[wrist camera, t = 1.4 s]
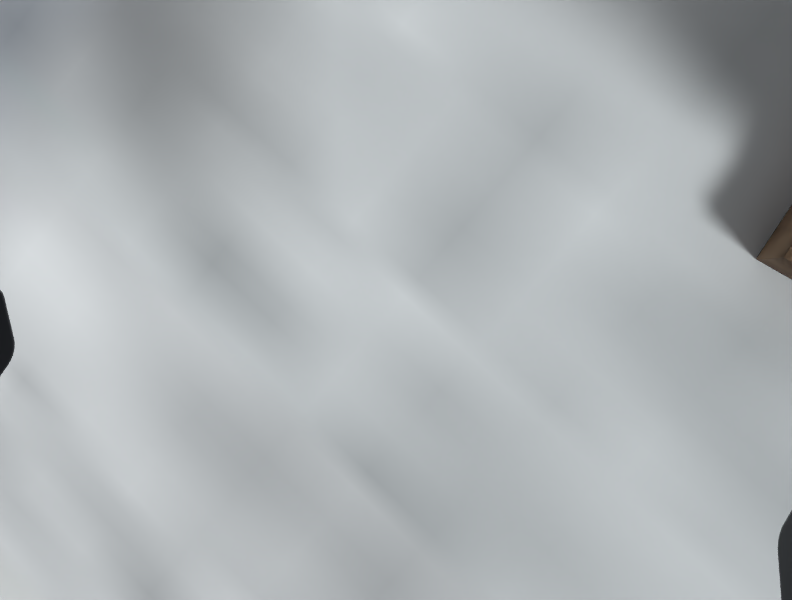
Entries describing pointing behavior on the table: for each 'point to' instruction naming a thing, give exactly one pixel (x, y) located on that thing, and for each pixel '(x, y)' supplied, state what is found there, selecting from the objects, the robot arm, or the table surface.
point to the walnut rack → (779, 247)
